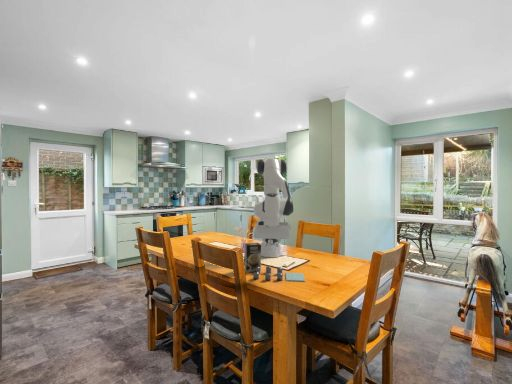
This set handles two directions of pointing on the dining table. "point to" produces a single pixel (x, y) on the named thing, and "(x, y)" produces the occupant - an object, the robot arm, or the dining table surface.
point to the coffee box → (252, 256)
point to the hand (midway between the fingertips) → (271, 246)
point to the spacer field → (268, 273)
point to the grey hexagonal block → (271, 246)
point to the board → (295, 277)
